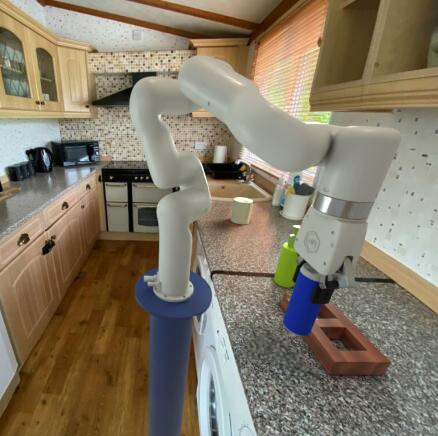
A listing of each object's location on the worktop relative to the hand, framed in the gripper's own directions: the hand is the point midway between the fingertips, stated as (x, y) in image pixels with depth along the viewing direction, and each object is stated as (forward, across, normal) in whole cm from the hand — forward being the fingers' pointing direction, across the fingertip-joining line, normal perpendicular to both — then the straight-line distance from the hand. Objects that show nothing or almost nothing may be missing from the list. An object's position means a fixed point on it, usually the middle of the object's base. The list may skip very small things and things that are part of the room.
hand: (309, 291), depth 47 cm
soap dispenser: (+19, -26, +14) cm, 35 cm away
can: (+20, -77, +17) cm, 82 cm away
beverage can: (+10, 0, 0) cm, 10 cm away
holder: (+18, -6, +13) cm, 23 cm away
